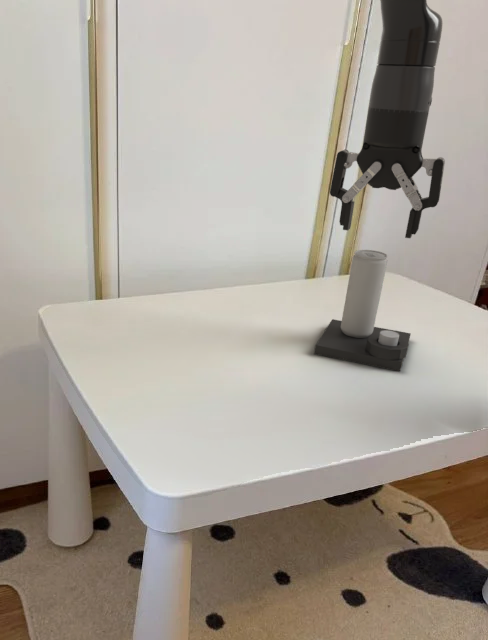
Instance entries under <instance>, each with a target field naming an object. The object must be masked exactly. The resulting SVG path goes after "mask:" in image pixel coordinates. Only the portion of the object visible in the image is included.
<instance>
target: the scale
mask: <svg viewBox="0 0 488 640" xmlns="http://www.w3.org/2000/svg"><path fill="white" fill-rule="evenodd" d="M341 322H342V320H339V319H334V318H333V319H331V321H330V322H329V323H328V325H327V327H326V328H325V330H324V331H323V333H322V334H321V336H320V337H319V339H318V341H317V342H316V343H315V346H314V353H313V354H314V355H317V356H322V357H327V358H332V359H337V360H340V361H341V360H342V361H347V362H351V363H357V364H362V365H367V366H372V367H375V368H382V369H387V370H392V371H397V372H401V369H402V367H403V363H404V359H406V357H407V353H408V350H409V349H408V348H409V345H410V343H409V342H410V339H411V333H410V332H405V331H401V330H400V331H399V330H394V329H390V328H389V329H388V328H383V327H378V326H374V329H373V332H372V334H371V335H370V336H368V337H366V338H355V337H351V336H348V335H346V334H344V333H343V332H342V330H341ZM384 330H389V331H394V332H396V333H398V334H399V339H398V344H397V346H386V345H382V344H380V343H378V340H379V335H380V332H381V331H384Z"/></svg>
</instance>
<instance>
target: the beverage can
mask: <svg viewBox="0 0 488 640" xmlns="http://www.w3.org/2000/svg"><path fill="white" fill-rule="evenodd" d="M387 258H388V254H387V253H385V252H382V251H379V250H373V249H358V250H355V251H354V255H353V256H352V258H351V259H352V260H351V265H350V270H349V276H348V281H347V282H348V283H347V288H346V293H345V300H344V304H343V312H342V315H341V316H342V317H341V321H342V322H341V330H342V332H343V333H344V334H346V335H348V336H351V337H355V338H366V337H368V336H370V335H371V334H372V332H373V329H374V327H375V324H376V318H377V314H378V310H379V306H380V305H379V304H380V300H381V296H382V290H383V285H384V282H385V281H384V280H385V276H386V271H387V266H388V259H387Z"/></svg>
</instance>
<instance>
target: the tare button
mask: <svg viewBox="0 0 488 640" xmlns="http://www.w3.org/2000/svg"><path fill="white" fill-rule="evenodd" d="M389 330H390V329H389ZM389 330H384V331H381V332H380V335H379V340H378V343H380V344H382V345H386V346H397V344H398V339H399V334H398V333H396V332H394V331H389Z"/></svg>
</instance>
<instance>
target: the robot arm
mask: <svg viewBox="0 0 488 640" xmlns="http://www.w3.org/2000/svg"><path fill="white" fill-rule="evenodd" d="M379 1H380V3H379V4H380V15H381V24H382V29H381V30H382V31H381V36H380V43H379V49H378V56H377V62H376V64H377V65H376V67H375V72H374V76H373V79H372V84H371V88H370V95H369V100H368V108H367V115H366V120H365V121H366V122H365V127H364V134H363V135H364V136H363V141H362V146H361V150H360V151H359V152H352V151H349V150H348V149H342V150H340V151H338V152H337V154H336V158H335V164H334V169H333V173H332V178H331V184H330V189H329V195H330V196H331V197H333V198H334V197H335V198H336V199H338V200H340V202H341V207H340V215H339V226H342V230H343V231H349V230H351V226H352V222H353V215H354V214H353V213H354V208H355V201H354V198H355V197H356V196H358V194H359V193H360V192H361V191H362V190H363V189H364V188H365V187H367V185H368V186H370V187H371V188H372V189H383V188H385V189H388V190H390V191H397V190H399V189H401V190H402V191H403V193H404V195H405V197H406V198H407V199H408V201H409V203H410V205H411V206H412V207H411V209H410V210H409V214H408V221H407V225H406V231H405V235H404V238H405V239H411V238H412V237H413V235H414V236H415V235H416V234H417V233H418V231H419V228H420V224H421V218H422V215H423V214H422V213H423V211H424V210H426V209H429V208H435V207H436V206H438V204H439V202H440V197H441V189H442V183H443V177H444V170H445V164H446V160H445V158H444V157H442V156H439V157H437V158H424V157H423V153H422V149H423V145H424V139H425V134H426V130H427V129H426V128H427V123H428V119H429V114H430V113H429V112H430V107H431V106H432V101H433V92H434V83H435V71H436V66H437V60H438V54H439V49H440V42H441V38H442V32H443V18H442V16H441V15H440V13H438V11H435V10H433V9H432V8H430V6H429V5H428V1H427V0H379ZM354 162H356V163H357V166H358V167H359V170H360V171H361V174H362V175H361V176H360V177H358V179H357V180H356V181H355V182H354V183H353V184H352V186H351V187H350V188H349V189H347V188H344V182H345V177H346V172H347V169H350V168H351V167H352V165H354ZM421 168H424V169H425V173H426V175H427V176H428V177H431V178H430V185H429V193H428V196H426V197H423V196H422V194H421V193H420V191H419V188H418V185H417V184H416V182H415V179H414V178H413V177H414V176H415V175H416V174H417V173H418V172H419V171H420V169H421Z"/></svg>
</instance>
